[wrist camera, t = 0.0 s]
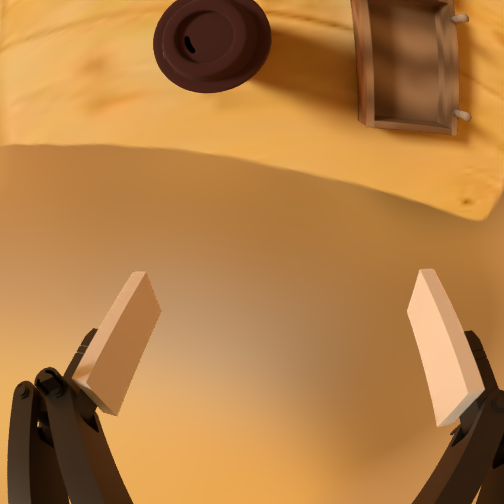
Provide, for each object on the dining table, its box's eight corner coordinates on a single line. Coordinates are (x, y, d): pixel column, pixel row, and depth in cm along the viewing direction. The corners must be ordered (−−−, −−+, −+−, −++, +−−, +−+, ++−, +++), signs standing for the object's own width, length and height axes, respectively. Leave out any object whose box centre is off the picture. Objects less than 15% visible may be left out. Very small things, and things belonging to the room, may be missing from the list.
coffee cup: (284, 20, 27) (281, -11, 15) (268, 91, 33) (254, 104, 21) (204, 10, 27) (156, -18, 15) (191, 79, 33) (137, 89, 21)
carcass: (348, -11, 23) (363, -28, 17) (436, 4, 22) (465, -4, 15) (358, 120, 33) (374, 132, 27) (440, 127, 32) (469, 142, 25)
